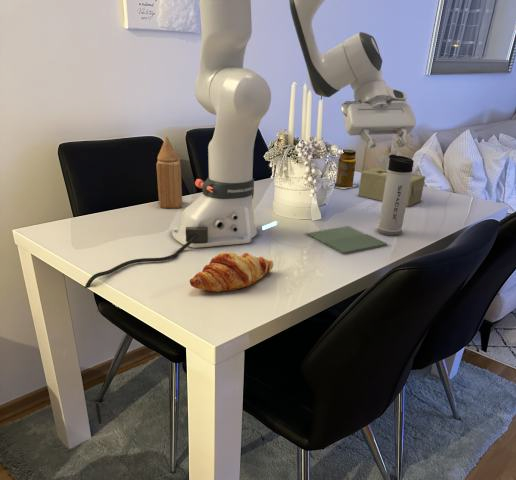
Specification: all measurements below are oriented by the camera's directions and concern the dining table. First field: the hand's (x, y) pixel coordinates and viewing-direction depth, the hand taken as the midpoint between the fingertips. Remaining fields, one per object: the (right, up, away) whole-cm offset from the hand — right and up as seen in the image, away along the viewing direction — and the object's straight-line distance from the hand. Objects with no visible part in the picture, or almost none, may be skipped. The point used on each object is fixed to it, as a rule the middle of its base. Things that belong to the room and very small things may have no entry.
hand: (387, 146), depth 133 cm
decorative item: (-61, -10, +21) cm, 66 cm away
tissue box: (+10, -4, +36) cm, 37 cm away
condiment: (-4, +5, +49) cm, 49 cm away
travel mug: (+2, -22, +6) cm, 23 cm away
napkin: (-11, -25, -1) cm, 27 cm away
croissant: (-39, -40, -26) cm, 61 cm away
